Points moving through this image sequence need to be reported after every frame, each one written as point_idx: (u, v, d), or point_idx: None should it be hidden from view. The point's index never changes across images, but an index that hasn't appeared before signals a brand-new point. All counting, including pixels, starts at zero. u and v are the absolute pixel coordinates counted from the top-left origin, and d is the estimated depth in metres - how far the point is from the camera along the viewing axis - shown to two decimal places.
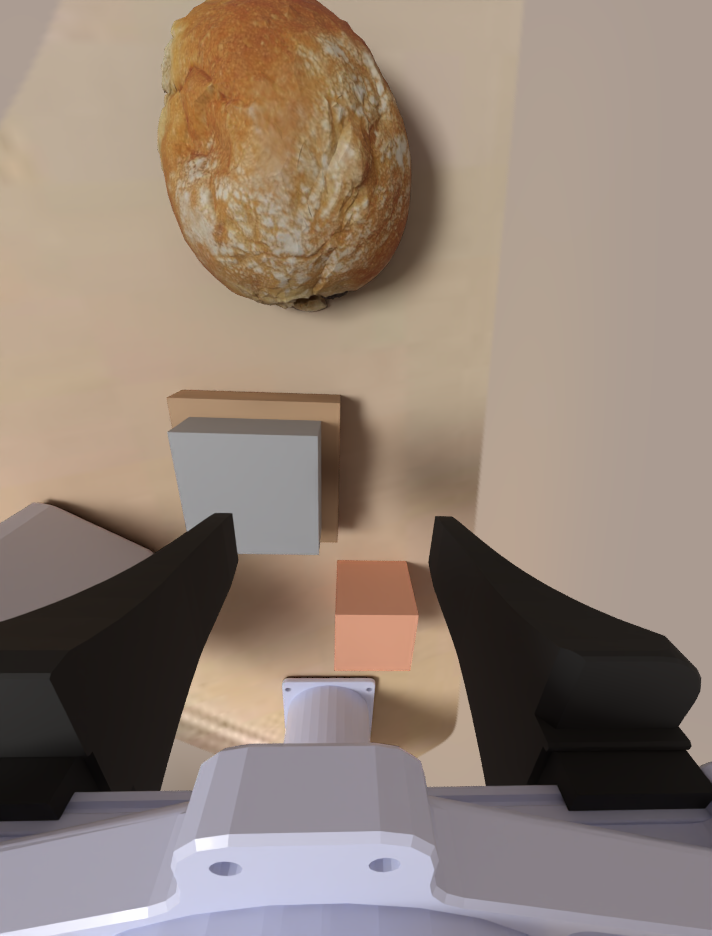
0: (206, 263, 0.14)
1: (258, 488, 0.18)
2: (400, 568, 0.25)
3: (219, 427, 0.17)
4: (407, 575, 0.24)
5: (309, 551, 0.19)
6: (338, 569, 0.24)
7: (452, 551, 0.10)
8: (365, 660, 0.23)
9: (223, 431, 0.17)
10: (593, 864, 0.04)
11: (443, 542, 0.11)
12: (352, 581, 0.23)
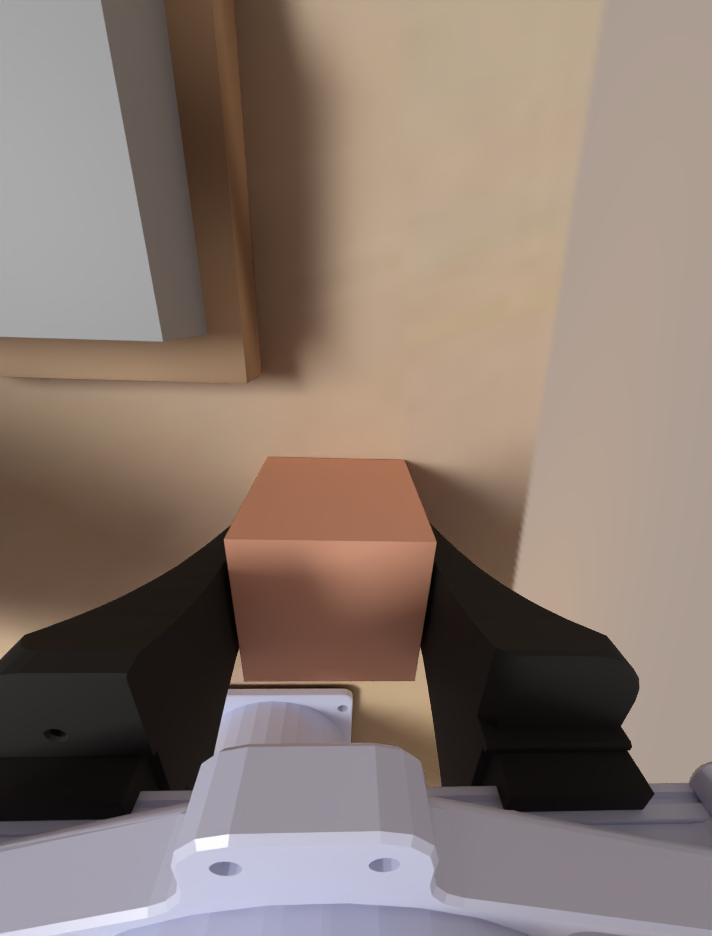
0: None
1: None
2: (394, 469, 0.12)
3: None
4: (407, 478, 0.11)
5: (133, 328, 0.07)
6: (264, 469, 0.12)
7: None
8: (312, 658, 0.10)
9: None
10: (593, 864, 0.04)
11: None
12: (288, 484, 0.11)
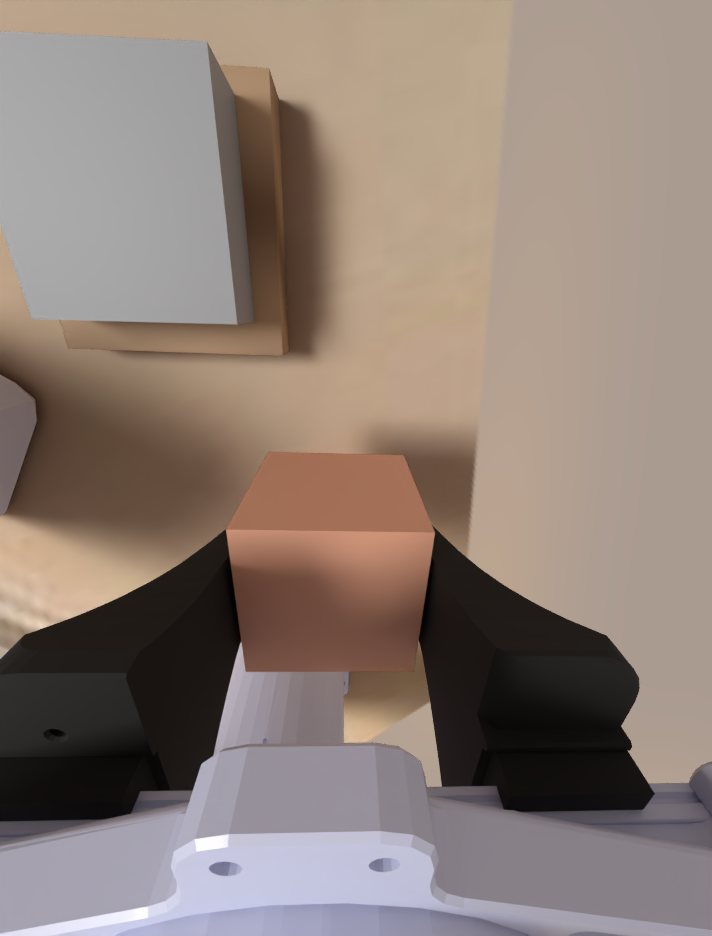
0: None
1: (119, 173, 0.10)
2: (393, 464, 0.12)
3: None
4: (406, 472, 0.12)
5: (221, 316, 0.12)
6: (265, 463, 0.12)
7: None
8: (312, 648, 0.10)
9: (42, 42, 0.10)
10: (593, 864, 0.04)
11: None
12: (289, 478, 0.11)
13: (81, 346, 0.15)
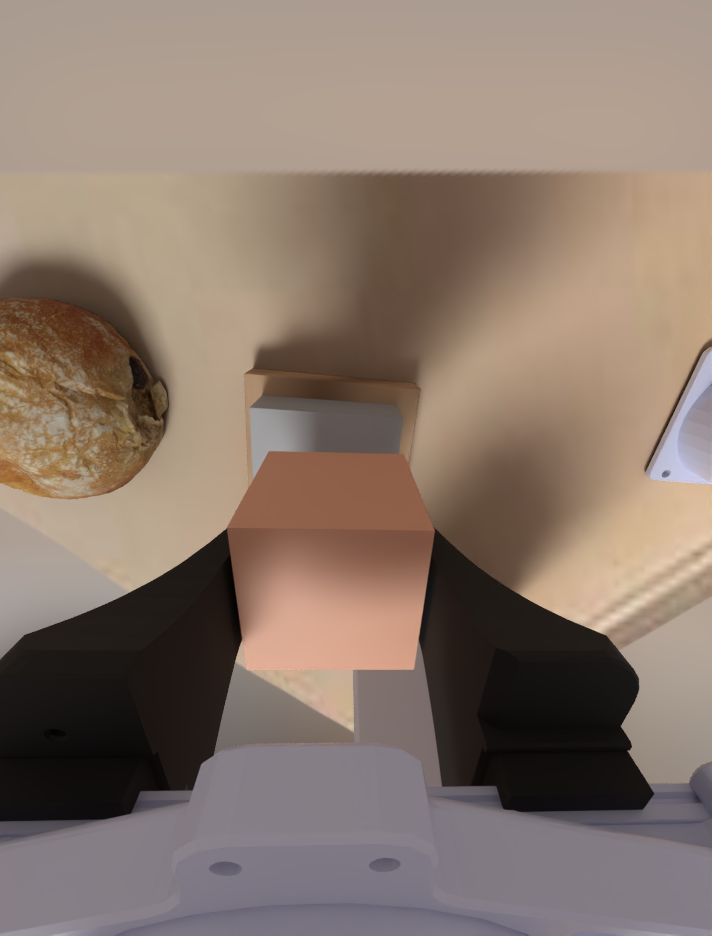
0: (112, 483, 0.18)
1: None
2: (393, 463, 0.12)
3: None
4: (406, 471, 0.12)
5: (397, 428, 0.16)
6: (265, 462, 0.12)
7: None
8: (313, 646, 0.10)
9: None
10: (593, 864, 0.04)
11: None
12: (290, 477, 0.11)
13: None
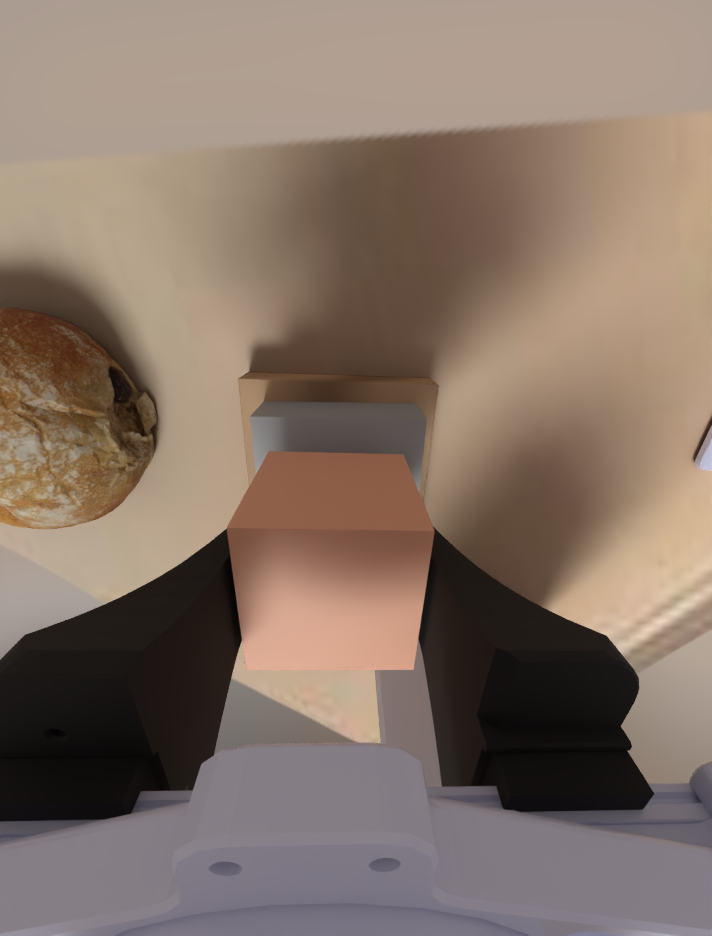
0: (98, 509, 0.16)
1: None
2: (393, 463, 0.12)
3: None
4: (406, 471, 0.12)
5: (420, 430, 0.14)
6: (265, 462, 0.12)
7: None
8: (312, 646, 0.10)
9: None
10: (593, 864, 0.04)
11: None
12: (289, 477, 0.11)
13: None
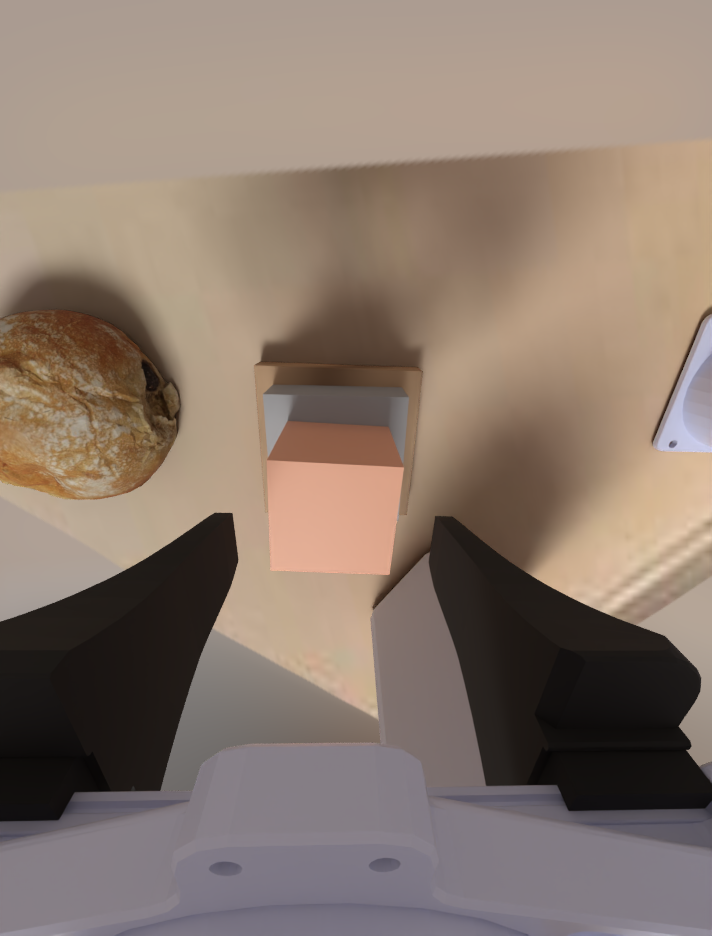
0: (132, 482, 0.19)
1: None
2: (380, 431, 0.17)
3: None
4: (389, 436, 0.16)
5: (403, 407, 0.17)
6: (286, 427, 0.16)
7: (452, 551, 0.10)
8: (319, 553, 0.14)
9: None
10: (593, 864, 0.04)
11: (443, 542, 0.11)
12: (305, 436, 0.15)
13: (406, 507, 0.22)
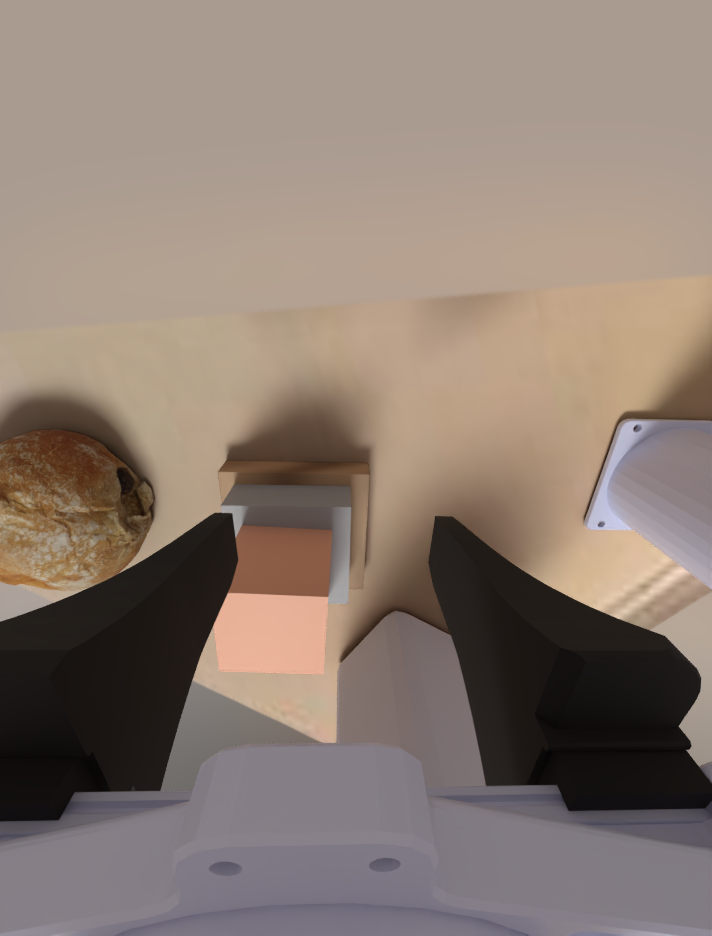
0: (109, 575, 0.21)
1: None
2: (322, 539, 0.19)
3: None
4: (328, 547, 0.18)
5: (346, 515, 0.19)
6: (238, 536, 0.18)
7: (452, 551, 0.10)
8: (260, 658, 0.17)
9: None
10: (593, 864, 0.04)
11: (443, 542, 0.11)
12: (252, 551, 0.17)
13: (362, 583, 0.25)
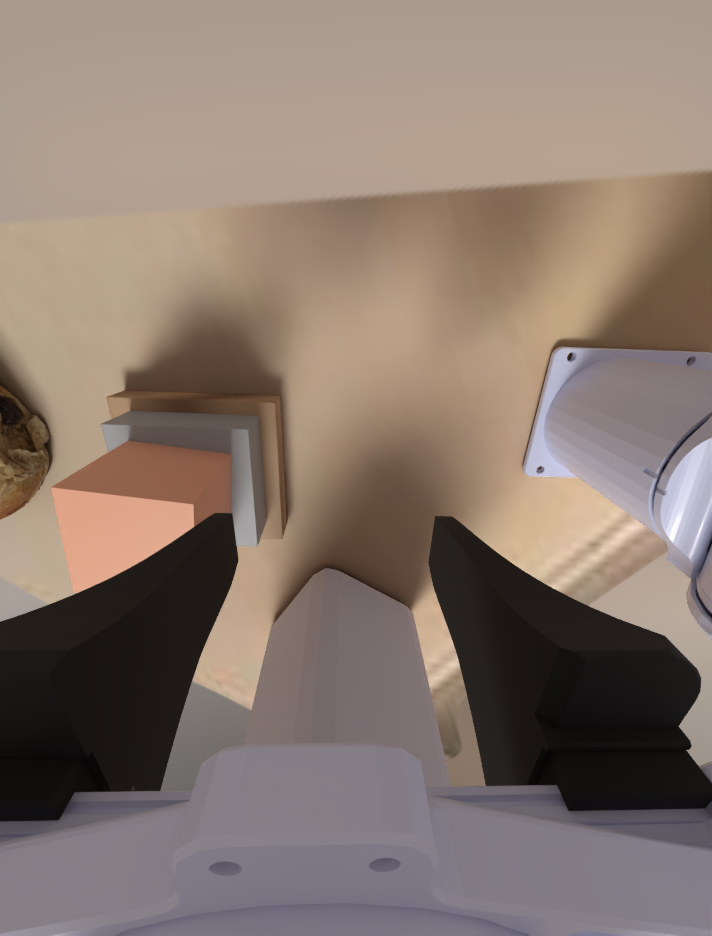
0: None
1: None
2: (215, 459, 0.17)
3: None
4: (219, 466, 0.16)
5: (243, 439, 0.17)
6: (118, 448, 0.16)
7: (452, 551, 0.10)
8: None
9: None
10: (593, 864, 0.04)
11: (443, 542, 0.11)
12: (126, 460, 0.15)
13: (280, 531, 0.23)
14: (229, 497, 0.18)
